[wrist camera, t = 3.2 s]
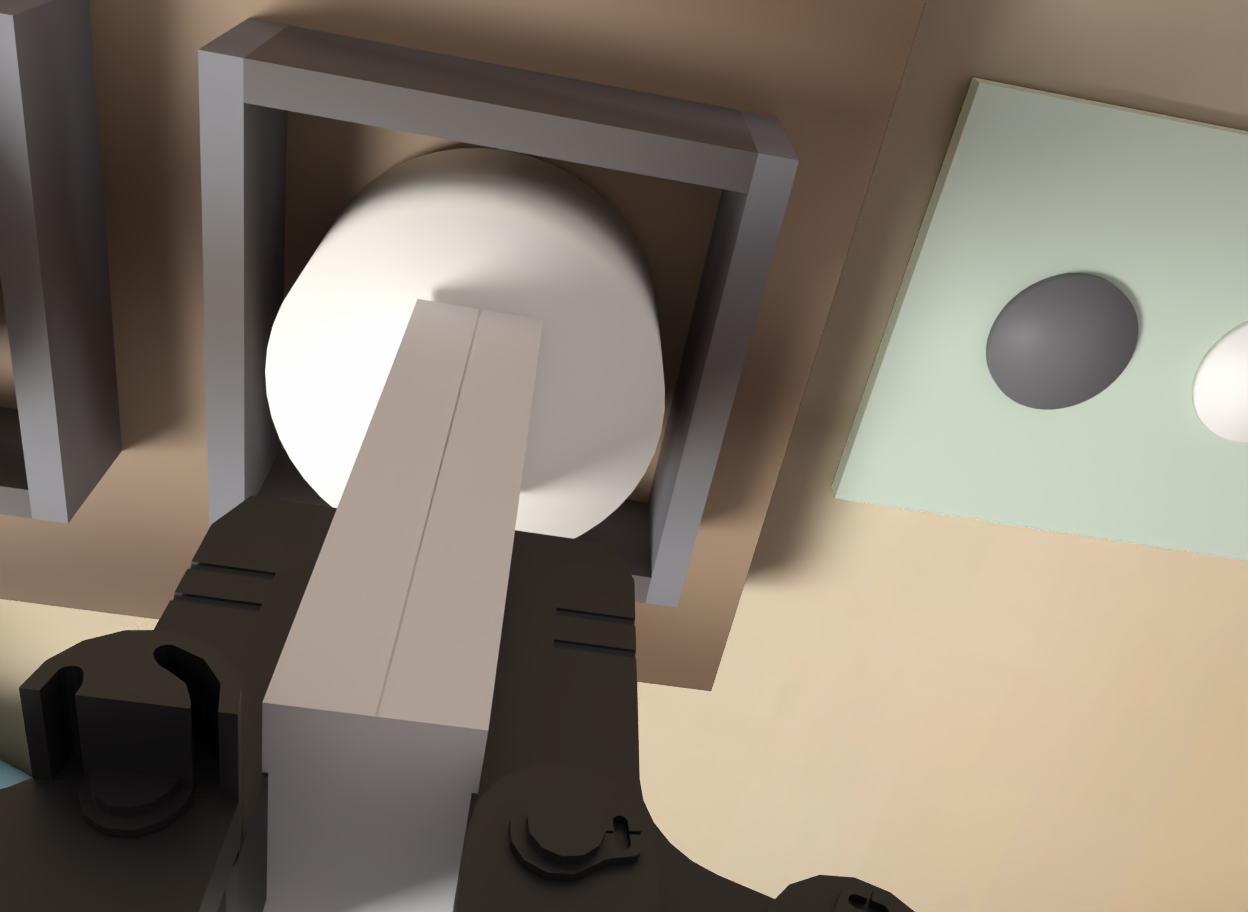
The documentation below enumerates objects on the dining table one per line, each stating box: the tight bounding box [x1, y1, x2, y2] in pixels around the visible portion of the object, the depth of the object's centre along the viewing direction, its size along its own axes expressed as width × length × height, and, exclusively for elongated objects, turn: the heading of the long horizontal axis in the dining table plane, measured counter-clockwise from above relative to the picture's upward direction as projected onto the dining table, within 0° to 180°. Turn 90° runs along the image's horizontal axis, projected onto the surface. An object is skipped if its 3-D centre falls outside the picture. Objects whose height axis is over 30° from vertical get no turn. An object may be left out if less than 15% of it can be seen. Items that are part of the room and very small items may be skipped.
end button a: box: [265, 148, 665, 539], centre depth 15 cm, size 5×5×2 cm
